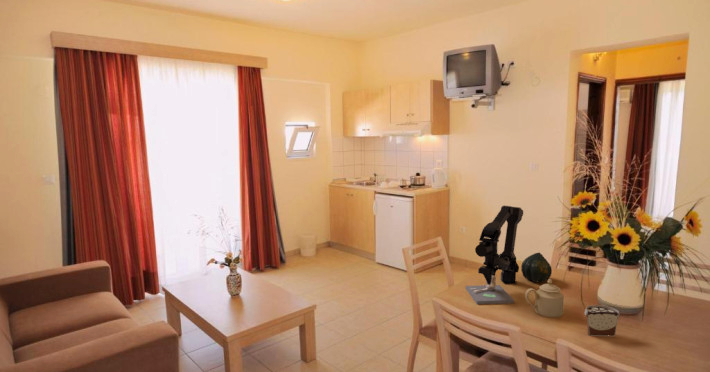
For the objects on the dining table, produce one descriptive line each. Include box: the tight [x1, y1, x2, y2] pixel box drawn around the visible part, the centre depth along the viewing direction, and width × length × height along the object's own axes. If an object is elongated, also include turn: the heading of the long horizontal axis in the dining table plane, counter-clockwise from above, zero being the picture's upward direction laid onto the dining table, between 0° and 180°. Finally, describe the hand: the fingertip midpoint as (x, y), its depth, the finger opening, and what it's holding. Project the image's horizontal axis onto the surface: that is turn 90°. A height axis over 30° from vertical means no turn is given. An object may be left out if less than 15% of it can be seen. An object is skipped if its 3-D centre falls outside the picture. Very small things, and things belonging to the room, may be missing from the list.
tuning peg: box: [474, 275, 497, 292], centre depth 201 cm, size 12×5×7 cm, turn 111°
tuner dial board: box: [465, 284, 515, 305], centre depth 200 cm, size 17×19×2 cm
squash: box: [520, 252, 553, 283], centre depth 218 cm, size 14×15×15 cm
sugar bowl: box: [524, 278, 565, 318], centre depth 178 cm, size 15×11×15 cm
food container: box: [584, 304, 621, 337], centre depth 161 cm, size 12×6×10 cm, turn 84°
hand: (490, 283), depth 203 cm, fingers closed on tuning peg, 4 cm apart
